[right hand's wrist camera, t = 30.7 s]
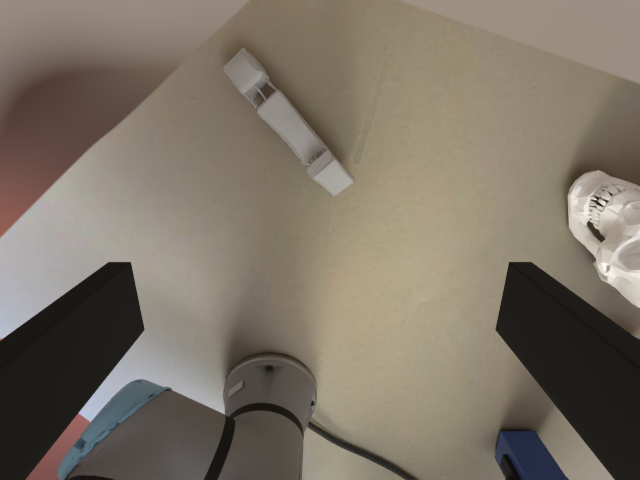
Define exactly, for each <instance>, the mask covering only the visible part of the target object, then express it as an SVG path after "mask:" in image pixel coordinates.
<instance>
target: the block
mask: <svg viewBox="0 0 640 480" xmlns="http://www.w3.org/2000/svg"><path fill="white" fill-rule="evenodd" d="M503 454H507V455H508V457H509V459H510V460H511V462H512V464H513V466H514V468H515V470H516V471H517V473H518V475H519V477H520V479H521V480H568V479H567V478H566V476H565V475H564V473H563V472H562V470H561V469H560V467H559V466H558V464H557V463H556V461H555V460H554V459H553V457H552V456H551V454H550V453H549V451H548V450H547V448H546V447H545V445H544V444H543V442H542V441H541V439H540V438H539V436H538V435H537V434H536V432H535V431H500V436H499V440H498V444H497V449H496V453H495V459H496V461H497V463H498V465H499V467H500V463H501V459H502V455H503ZM500 469H501V467H500ZM501 471H502V469H501ZM502 473H503V471H502ZM503 475H504V473H503ZM504 476H505V475H504ZM505 478H506V477H505Z"/></svg>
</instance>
